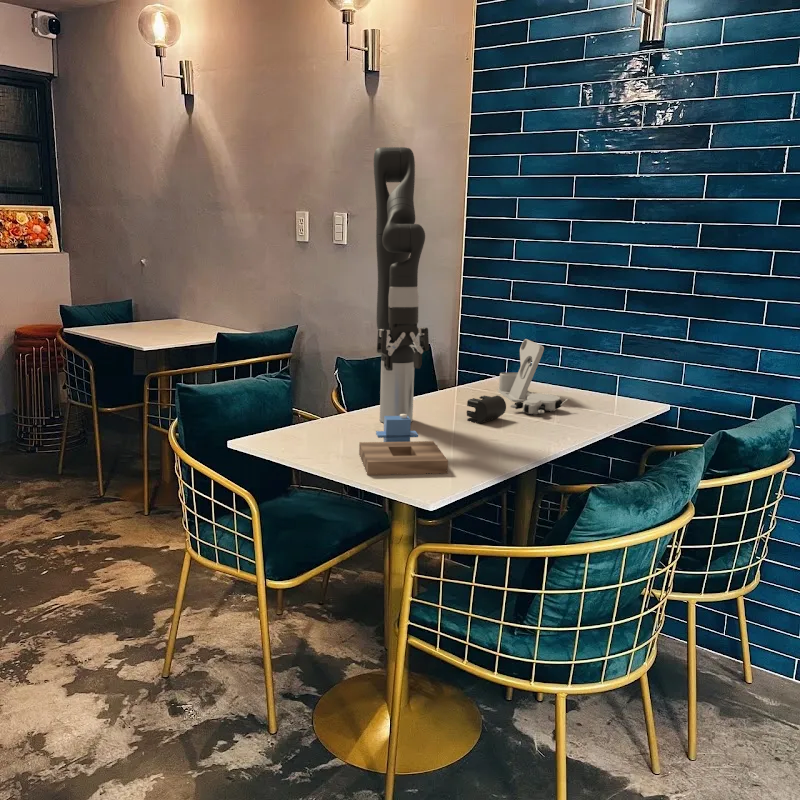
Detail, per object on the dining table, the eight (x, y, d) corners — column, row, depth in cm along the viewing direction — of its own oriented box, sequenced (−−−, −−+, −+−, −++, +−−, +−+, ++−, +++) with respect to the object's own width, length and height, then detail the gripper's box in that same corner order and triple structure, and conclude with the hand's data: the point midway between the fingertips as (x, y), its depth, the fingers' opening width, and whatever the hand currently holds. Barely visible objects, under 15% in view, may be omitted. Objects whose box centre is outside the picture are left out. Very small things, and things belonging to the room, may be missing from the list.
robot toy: (543, 422, 232) (568, 410, 243) (543, 407, 230) (568, 396, 242) (507, 415, 239) (533, 404, 250) (507, 400, 238) (533, 390, 249)
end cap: (486, 425, 222) (487, 402, 221) (465, 421, 227) (466, 398, 225) (505, 419, 230) (507, 396, 228) (485, 415, 234) (486, 393, 233)
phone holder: (496, 390, 270) (499, 337, 266) (524, 390, 271) (528, 338, 267) (512, 402, 253) (516, 345, 249) (542, 401, 255) (546, 346, 251)
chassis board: (359, 454, 191) (359, 442, 190) (432, 453, 194) (433, 441, 193) (367, 475, 175) (367, 462, 175) (447, 473, 178) (447, 460, 178)
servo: (377, 449, 195) (378, 416, 194) (375, 445, 199) (376, 412, 197) (417, 449, 197) (418, 416, 195) (414, 444, 201) (415, 412, 199)
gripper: (418, 303, 207) (417, 366, 210) (371, 305, 199) (371, 369, 202) (435, 305, 201) (434, 369, 204) (387, 306, 193) (387, 372, 196)
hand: (403, 369), depth 203 cm, fingers open, 8 cm apart
